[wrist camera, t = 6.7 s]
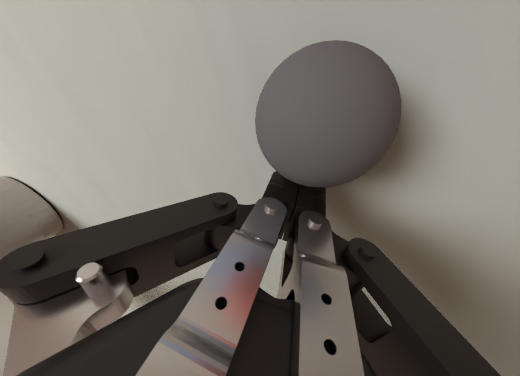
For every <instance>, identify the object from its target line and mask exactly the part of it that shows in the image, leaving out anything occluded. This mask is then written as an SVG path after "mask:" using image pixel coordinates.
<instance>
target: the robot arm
mask: <svg viewBox="0 0 520 376" xmlns="http://www.w3.org/2000/svg"><path fill="white" fill-rule="evenodd" d="M325 195H326V189H325V187H309V186H304V185H301V184H298V183H295V182H293V181H291V180H289V179H287V178H285V177H284V176H282V175H281V174H279V173H278V172H277V171H276V172H274V173H273V175H272V177H271V179H270V182H269V184H268V186H267V188H266V191H265V193H264V195H263V197H262V198H261V199H259V200H258V201H257V203H256V204H252V205H241V204H238V203H237V200H236V199H235V198H234V197H233V196H232V195H230V194H227V193H222V192H219V193H213V194H209V195H206V196H202V197H198V198H195V199H191V200H187V201H184V202H180V203H176V204H173V205H169V206H165V207H162V208H158V209H154V210H151V211H147V212H143V213H140V214H136V215H132V216H129V217H125V218H121V219H118V220H114V221H110V222H107V223H103V224H99V225H96V226H92V227H88V228H85V229H81V230H77V231H74V232H70V233H66V234H63V235H59V236H55V237H52V236H53V235H55V234H56V233H58V232H59V231H61V230H62V228H63V225H62V221H61V219H60V218H59V216H58V215H57V213H56V212H55V211H54V210H53V208H52V207H51V206H50V205H49V204H48V203H47V202H46V201H45V200H44V199H43V198H41V197H40V196H39V195H38V194H37V193H35V192H34V191H32V190H31V189H30V188H28V187H27V186H25V185H23V184H22V183H20V182H18V181H16V180H14V179H11V178H8V177H0V292H2V293H3V294H4V295H6V296H7V297H8V299H9V301H10V302H11V303H13V305H14V314H13V320H12V326H11V332H10V338H9V344H8V350H7V356H6V362H5V368H4V374H3V376H500V375H499V373H498V372H497V371H496V370H495V369H494V368H493V367H492V366H491V365H490V364H489V363H488V362H487V361H486V360H485V359H484V358H483V357H482V356H481V355H480V354H479V353H478V352H477V351H476V350H475V349H474V347H473V346H472V345H471V344H470V343H469V342H468V341H467V340H466V339H465V338H464V337H463V336H462V335H461V334H460V333H459V332H458V331H457V330H456V329H455V328H454V327H453V326H452V325H451V324H450V322H449V321H448V320H447V319H446V318H445V317H444V316H443V315H442V314H441V313H440V312H439V311H438V310H437V309H436V308H435V307H434V306H433V305H432V304H431V303H430V302H429V301H428V300H427V299H426V297H425V296H424V295H423V294H422V293H421V292H420V291H419V290H418V289H417V288H416V287H415V286H414V285H413V284H412V283H411V282H410V281H409V280H408V279H407V278H406V277H405V276H404V275H403V274H402V272H401V271H400V270H399V269H398V268H397V267H396V266H395V265H394V264H393V263H392V262H391V261H390V260H389V259H388V258H387V257H386V256H385V255H384V254H383V253H382V252H381V251H380V250H379V249H378V248H377V247H376V246H375V245H374V244H372V243H371V242H369V241H367V240H365V239H361V238H354V239H352V240H350V242H348V241H346V240H345V239H343V238H341V237H340V236H338V235H336V234H335V233H334V232H333V231H332V230H331V225H330V222H329V221H328V220H327V218H326V201H325V200H326V196H325ZM283 233H284V235H283ZM282 236H283V239H282V240H284V241H287V244H286V248H285V250H284V253H283V257H282V266H281V274H280V282H279V290H278V295H277V298H274V297H272V296H271V295H269V294H268V293H267V292H265V291H264V290H262V289H261V288H259V286H260V283H261V280H262V278H263V275H264V272H265V270H266V267H267V264H268V262H269V259H270V256H271V254H272V251H273V249H274V248H275V246H276V244H277V241H278V239H281V238H282ZM50 237H52V238H50ZM215 258H216V260H215V261H214V263H213V264H212V266H211V268H210V269H209V271H208V272H207V274H206V275H205V277H204V278H199V279H195V280H192V281H189V282H187V283H184V284H182V285H180V286H179V287H177V288H175V289H173V290H171V291H169V292H168V293H166V294H164V295H162V296H160V297H158V298H157V299H155V300H153V301H151V302H149V303H147V304H146V305H144V306H142V307H140V308H138V309H136V310H135V311H133V312H131V313H129V314H127V315H125V316H124V317H122V318H120V317H121V316H122V315H123V314H124V313H125V312H126V310H127V309H128V308H129V306H130V305H131V302H132V300H133V297H136V296H138V295H140V294H142V293H144V292H146V291H148V290H150V289H152V288H154V287H156V286H159V285H161V284H163V283H165V282H167V281H169V280H171V279H173V278H175V277H177V276H180V275H182V274H184V273H186V272H188V271H190V270H192V269H194V268H196V267H198V266H200V265H203V264H205V263H207V262H209V261H211V260H213V259H215ZM363 287H365V288H366V289H367V291H368V292H369V293H370V295H371V296H372V297H373V299H374V300H375V301H376V302H377V304H378V305H379V306H380V308H381V309H382V310H383V311H384V313H385V314H386V315H387V317H388V318H389V320H390V322H391V325H392V327H391V326H390V325H388V324H387V323H386V322H385V320H384V319H383V318H382V316H381V315H380V314H379V312H378V311H377V310H376V308H375V307H374V306H373V304H372V303H371V302H370V300H369V299H368V298H367V296H366V295H365V294H364V292H363V291H362V290H361V289H362V288H363ZM119 318H120V319H119ZM117 319H118V320H117ZM115 320H116V321H115ZM112 322H113V323H112ZM110 323H111V324H110Z"/></svg>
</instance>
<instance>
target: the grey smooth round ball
mask: <svg viewBox="0 0 520 376" xmlns="http://www.w3.org/2000/svg"><path fill="white" fill-rule="evenodd" d="M400 115H401V98H400V92H399V86H398V84H397V81H396V79H395V77H394V75H393V73H392V71H391V70H390V68H389V66H388V65H387V64H386V63H385V62H384V60H383V59H382V58H381V57H379V56H378V55H377V54H375V53H374V52H373V51H371V50H370V49H368V48H366V47H364V46H362V45H359V44H356V43H353V42H348V41H337V40H335V41H324V42H319V43H315V44H312V45H309V46H307V47H304V48H303V49H301V50H299V51H297V52H295V53H293V54H292V55H291V56H289V57H288V58H287V59H285V60H284V61H283V62H282V63H281V64H280V65H279V66H278V67H277V68H276V69H275V70H274V72H273V73H272V74H271V76H270V77H269V79H268V80H267V82H266V84H265V86H264V88H263V90H262V92H261V94H260V97H259V101H258V105H257V109H256V118H255V124H256V134H257V139H258V143H259V145H260V148H261V150H262V153H263V154H264V156H265V158H266V159H267V161H268V162H269V164H270V165H271V166H272V167H273V168H274V169H275V170H276V171H277V172H278V173H279V174H281V175H282V176H284V177H285V178H287V179H289V180H291V181H293V182H295V183H298V184H301V185H304V186H309V187H333V186H337V185H341V184H345V183H347V182H350V181H352V180H354V179H356V178H358V177H360V176H361V175H363V174H364V173H366V172H367V171H369V170H370V169H371V168H372V167H373V166H374V165H375V164H376V163H377V162H378V161H379V160H380V159H381V158H382V157H383V156H384V154H385V153H386V152H387V150H388V149H389V147H390V145H391V143H392V141H393V139H394V137H395V135H396V132H397V129H398V126H399V121H400Z"/></svg>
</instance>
